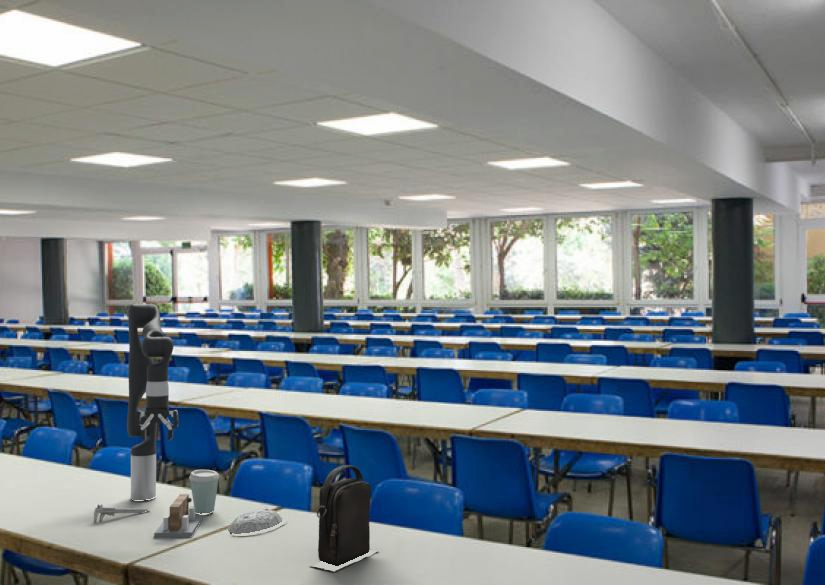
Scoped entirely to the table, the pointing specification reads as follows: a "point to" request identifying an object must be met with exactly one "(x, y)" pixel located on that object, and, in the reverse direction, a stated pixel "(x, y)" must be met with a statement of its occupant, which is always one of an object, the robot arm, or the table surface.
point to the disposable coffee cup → (204, 490)
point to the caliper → (112, 511)
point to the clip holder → (187, 528)
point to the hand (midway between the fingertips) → (157, 440)
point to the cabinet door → (178, 511)
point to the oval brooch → (255, 521)
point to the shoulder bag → (343, 518)
